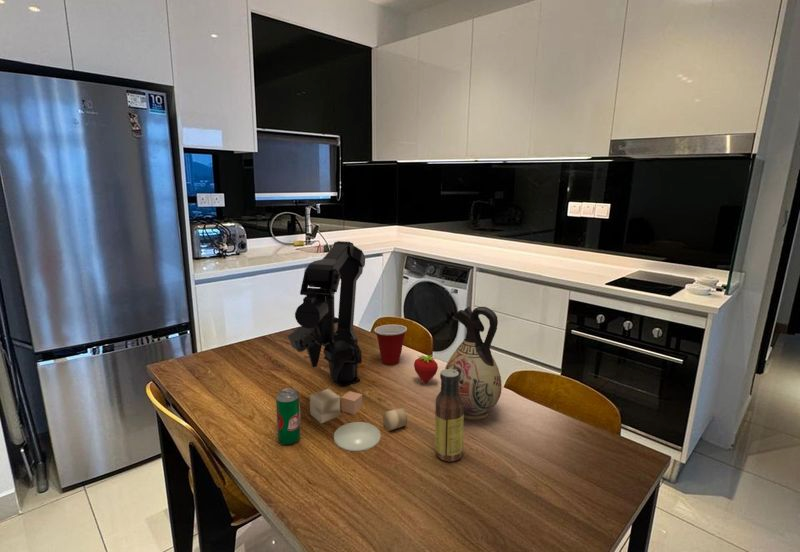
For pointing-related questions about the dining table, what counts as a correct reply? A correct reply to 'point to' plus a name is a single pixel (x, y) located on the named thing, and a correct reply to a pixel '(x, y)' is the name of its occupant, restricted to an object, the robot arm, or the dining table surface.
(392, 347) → the plastic cup
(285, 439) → the soda can
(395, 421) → the beech cylinder
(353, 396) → the terracotta block
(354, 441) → the coaster
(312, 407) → the maple block
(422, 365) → the strawberry
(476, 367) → the ceramic jug
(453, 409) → the sauce bottle
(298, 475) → the dining table surface
